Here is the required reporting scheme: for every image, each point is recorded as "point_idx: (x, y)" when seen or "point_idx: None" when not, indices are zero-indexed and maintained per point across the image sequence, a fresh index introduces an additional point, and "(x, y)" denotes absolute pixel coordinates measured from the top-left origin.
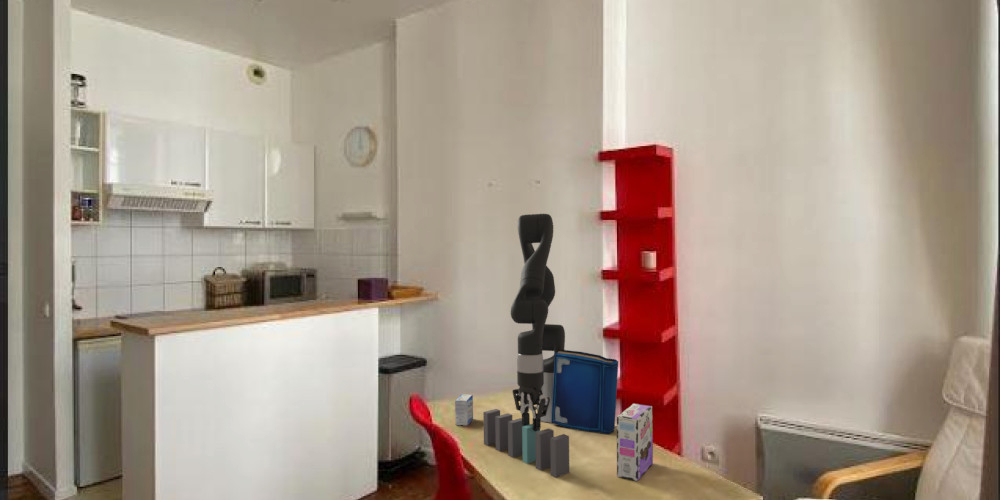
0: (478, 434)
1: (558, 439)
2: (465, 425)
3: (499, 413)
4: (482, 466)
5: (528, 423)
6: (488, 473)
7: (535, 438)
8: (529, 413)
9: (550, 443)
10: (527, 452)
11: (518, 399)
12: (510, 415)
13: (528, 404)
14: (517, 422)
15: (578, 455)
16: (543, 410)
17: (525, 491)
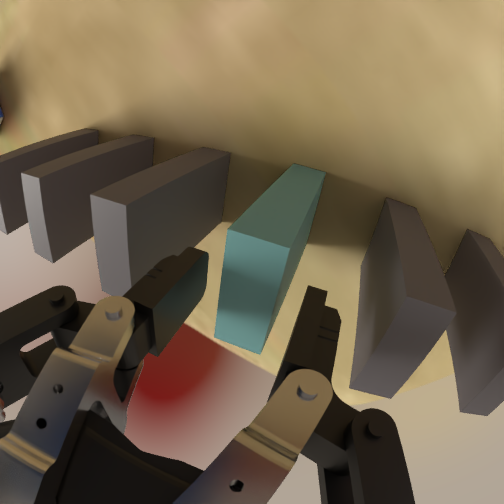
0: (38, 135)
1: (500, 402)
2: (2, 119)
3: (6, 164)
4: (205, 323)
5: (198, 270)
6: (252, 353)
7: (353, 358)
8: (154, 310)
9: (457, 389)
10: (297, 265)
11: (22, 383)
12: (41, 192)
13: (107, 401)
14: (133, 271)
15: (444, 37)
16: (360, 475)
17: (399, 393)
